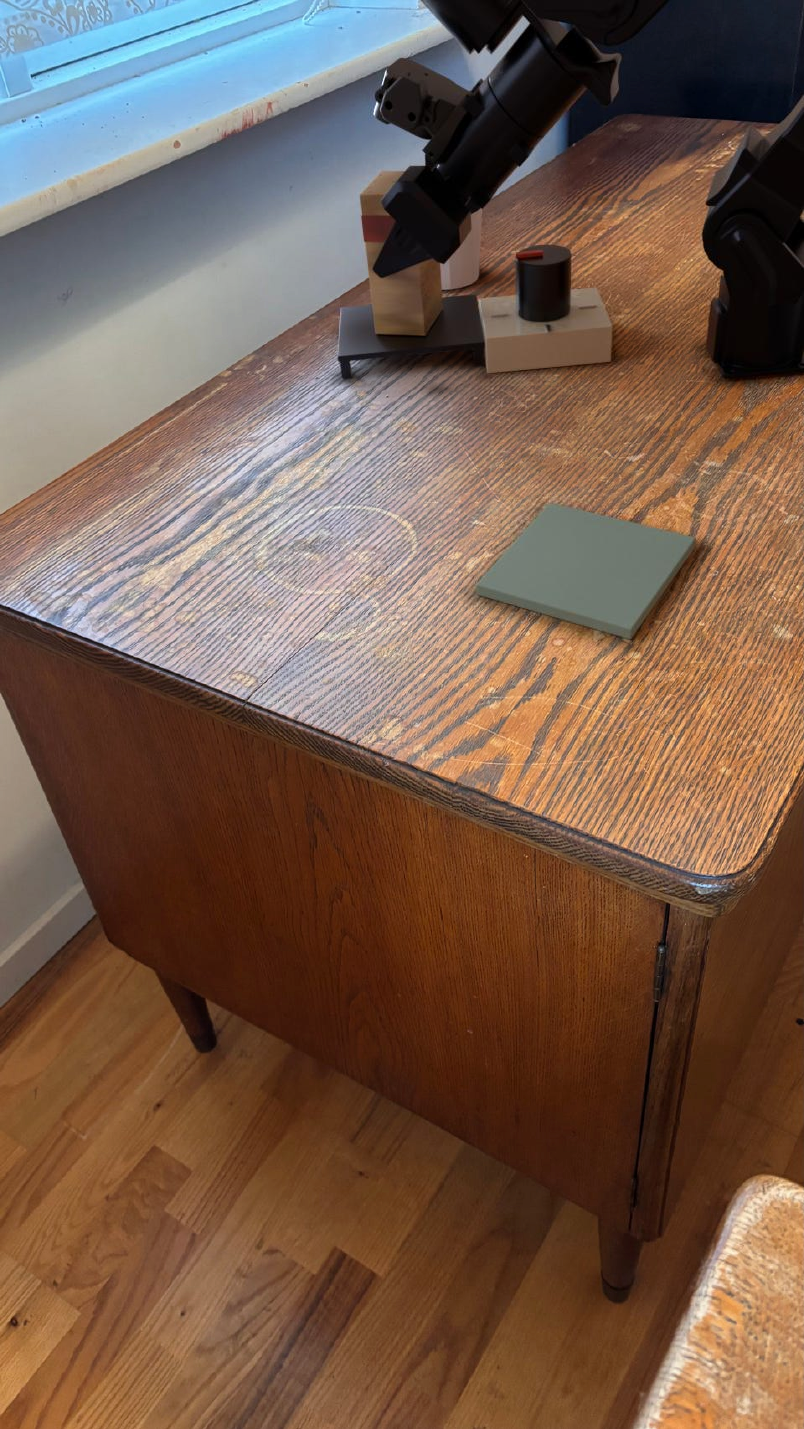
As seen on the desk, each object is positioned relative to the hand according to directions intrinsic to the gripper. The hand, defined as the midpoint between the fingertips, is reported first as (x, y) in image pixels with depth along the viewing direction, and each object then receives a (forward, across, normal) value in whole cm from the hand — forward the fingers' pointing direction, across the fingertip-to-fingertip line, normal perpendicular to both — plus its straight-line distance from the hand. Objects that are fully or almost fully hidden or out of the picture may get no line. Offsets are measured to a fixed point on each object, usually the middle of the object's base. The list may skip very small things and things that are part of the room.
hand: (388, 259), depth 86 cm
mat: (-10, +30, +20) cm, 38 cm away
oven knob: (-6, 0, +12) cm, 13 cm away
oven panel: (-4, 0, +14) cm, 15 cm away
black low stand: (+4, 0, +6) cm, 7 cm away
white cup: (+5, -14, +6) cm, 16 cm away
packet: (+3, 0, +5) cm, 5 cm away
